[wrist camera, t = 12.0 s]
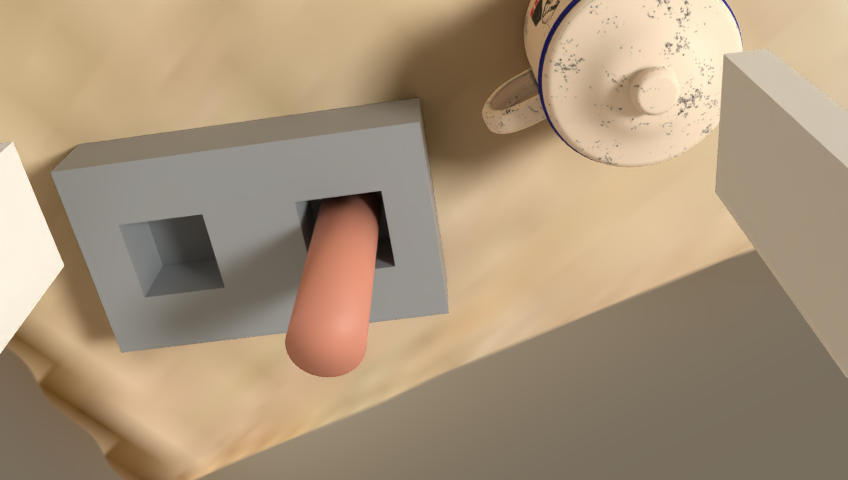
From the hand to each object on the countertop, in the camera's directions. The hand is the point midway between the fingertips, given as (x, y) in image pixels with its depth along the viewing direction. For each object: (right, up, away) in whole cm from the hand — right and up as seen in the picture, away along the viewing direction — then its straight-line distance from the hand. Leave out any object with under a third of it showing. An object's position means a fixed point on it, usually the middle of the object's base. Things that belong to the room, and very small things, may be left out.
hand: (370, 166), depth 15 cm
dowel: (-3, +1, +33) cm, 33 cm away
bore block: (-8, 0, +34) cm, 35 cm away
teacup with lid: (+9, +10, +29) cm, 32 cm away
